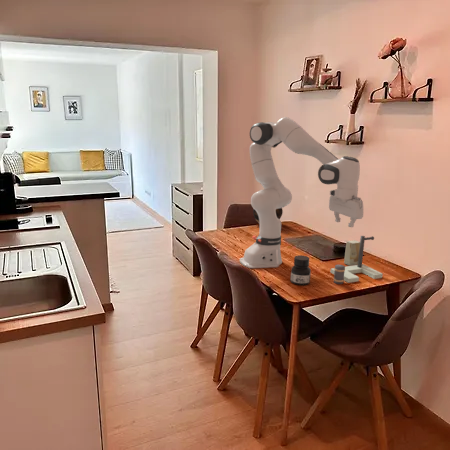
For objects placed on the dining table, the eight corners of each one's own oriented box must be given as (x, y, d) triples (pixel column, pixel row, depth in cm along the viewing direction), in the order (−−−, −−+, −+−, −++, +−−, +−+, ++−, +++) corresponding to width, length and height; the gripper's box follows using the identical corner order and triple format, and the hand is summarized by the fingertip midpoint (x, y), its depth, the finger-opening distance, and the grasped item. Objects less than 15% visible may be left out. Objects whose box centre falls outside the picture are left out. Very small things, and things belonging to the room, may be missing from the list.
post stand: (348, 282, 193) (352, 246, 189) (330, 272, 206) (333, 237, 201) (386, 277, 201) (390, 241, 197) (366, 267, 214) (370, 233, 209)
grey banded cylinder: (337, 284, 191) (338, 268, 188) (331, 281, 195) (332, 265, 193) (345, 283, 192) (347, 267, 190) (339, 279, 196) (341, 264, 194)
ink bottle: (287, 284, 190) (289, 259, 187) (291, 277, 198) (293, 253, 195) (309, 287, 187) (311, 262, 184) (311, 280, 195) (313, 256, 192)
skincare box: (349, 266, 215) (351, 243, 212) (343, 263, 219) (345, 241, 216) (358, 264, 218) (361, 242, 215) (352, 261, 222) (355, 239, 219)
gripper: (368, 198, 175) (365, 229, 178) (339, 189, 193) (336, 218, 196) (356, 198, 172) (353, 230, 176) (327, 190, 191) (325, 219, 194)
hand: (344, 224), depth 186 cm, fingers open, 8 cm apart
